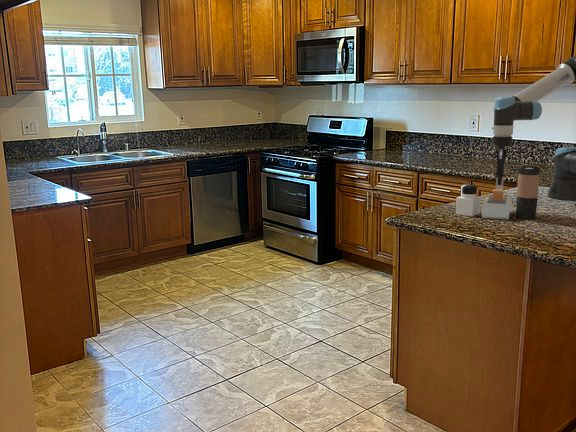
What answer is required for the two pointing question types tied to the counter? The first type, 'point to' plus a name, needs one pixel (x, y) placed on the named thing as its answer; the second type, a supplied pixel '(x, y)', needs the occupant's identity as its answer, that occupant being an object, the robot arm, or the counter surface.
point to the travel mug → (527, 192)
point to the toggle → (498, 194)
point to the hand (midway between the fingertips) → (499, 192)
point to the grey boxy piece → (496, 208)
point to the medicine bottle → (468, 201)
